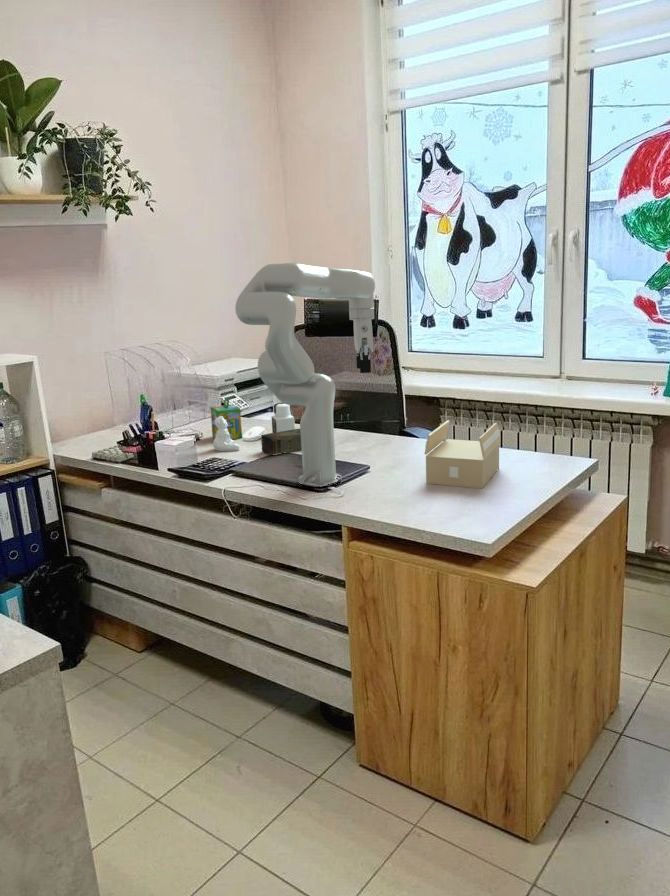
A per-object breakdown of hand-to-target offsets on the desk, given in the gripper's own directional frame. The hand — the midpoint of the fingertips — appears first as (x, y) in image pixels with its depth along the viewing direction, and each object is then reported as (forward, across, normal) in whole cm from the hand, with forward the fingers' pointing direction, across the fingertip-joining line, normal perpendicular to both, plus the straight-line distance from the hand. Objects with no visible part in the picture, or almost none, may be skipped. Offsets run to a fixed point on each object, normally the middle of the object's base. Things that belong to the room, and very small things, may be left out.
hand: (363, 370), depth 224 cm
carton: (+29, -24, -25) cm, 45 cm away
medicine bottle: (+29, +42, +26) cm, 57 cm away
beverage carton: (+29, +20, +24) cm, 43 cm away
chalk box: (+29, +43, +47) cm, 70 cm away
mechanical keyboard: (+30, +34, +75) cm, 87 cm away
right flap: (+18, -28, -32) cm, 46 cm away
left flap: (+18, -21, -19) cm, 33 cm away
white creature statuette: (+29, +26, +46) cm, 60 cm away
